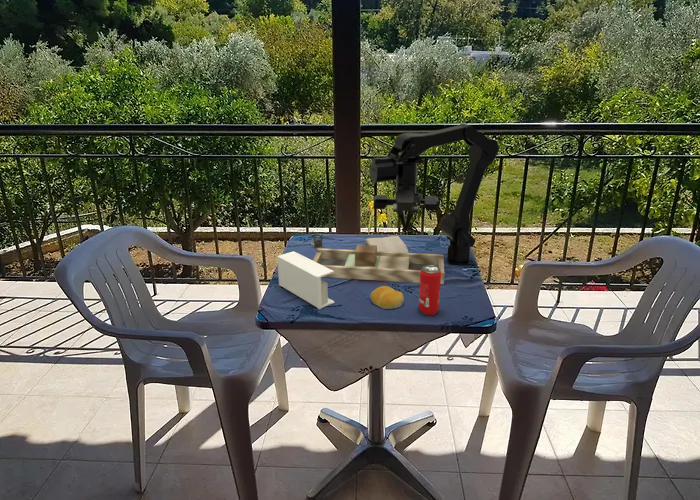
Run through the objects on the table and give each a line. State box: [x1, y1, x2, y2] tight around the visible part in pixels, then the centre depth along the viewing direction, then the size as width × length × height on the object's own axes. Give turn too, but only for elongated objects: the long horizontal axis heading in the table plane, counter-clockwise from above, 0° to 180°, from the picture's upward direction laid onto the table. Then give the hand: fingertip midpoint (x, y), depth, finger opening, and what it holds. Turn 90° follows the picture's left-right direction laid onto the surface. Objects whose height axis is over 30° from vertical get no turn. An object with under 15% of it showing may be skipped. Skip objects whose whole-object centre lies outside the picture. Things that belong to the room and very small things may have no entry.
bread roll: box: [370, 285, 405, 310], centre depth 136 cm, size 8×9×4 cm
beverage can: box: [418, 265, 442, 316], centre depth 130 cm, size 5×5×12 cm
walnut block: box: [354, 244, 377, 267], centre depth 155 cm, size 6×6×4 cm
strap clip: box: [309, 235, 327, 250], centre depth 174 cm, size 8×3×4 cm, turn 27°
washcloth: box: [364, 235, 410, 253], centre depth 171 cm, size 12×18×3 cm, turn 10°
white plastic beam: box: [277, 250, 335, 310], centre depth 140 cm, size 20×6×9 cm, turn 41°
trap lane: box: [311, 248, 446, 285], centre depth 155 cm, size 40×14×4 cm, turn 81°
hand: (405, 230), depth 152 cm, fingers closed
